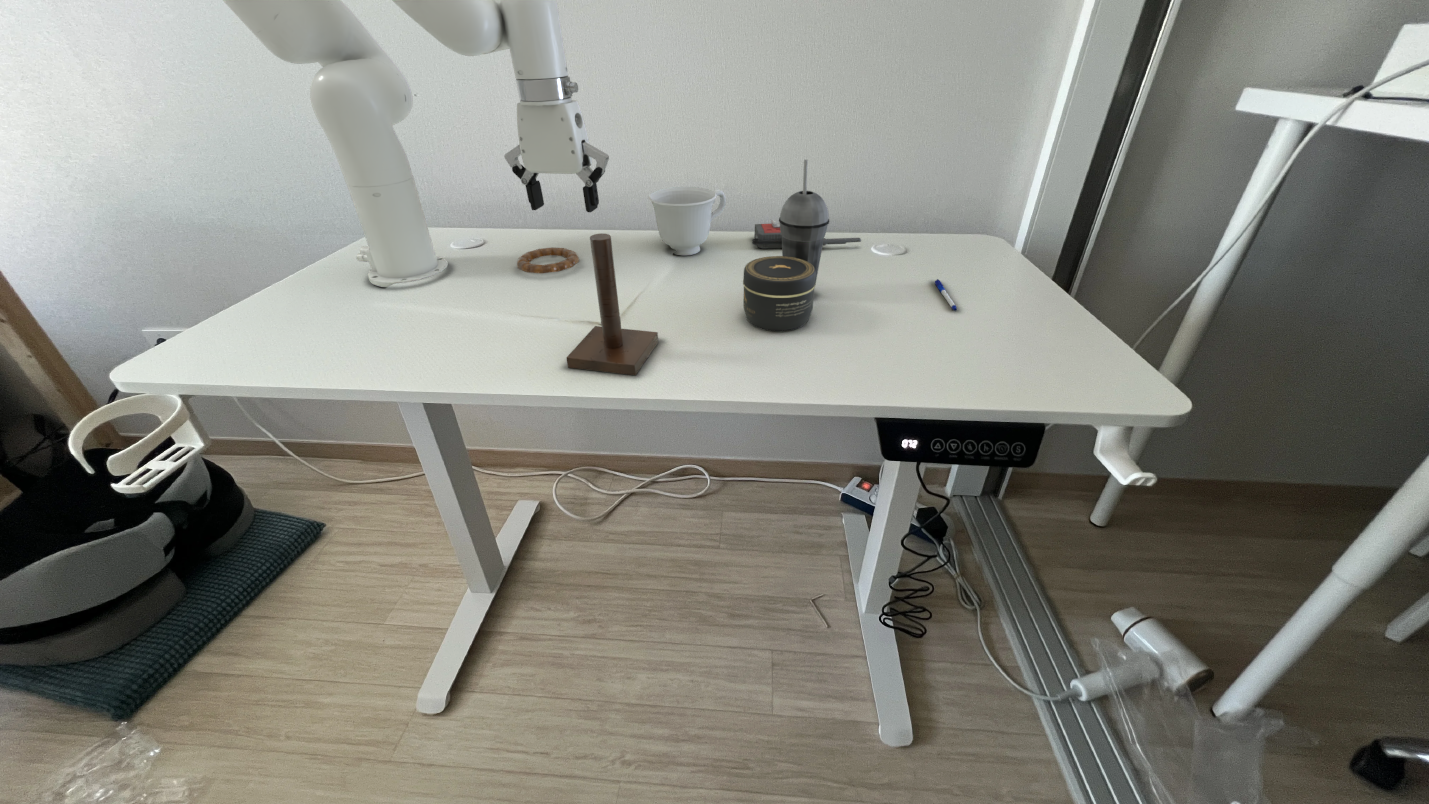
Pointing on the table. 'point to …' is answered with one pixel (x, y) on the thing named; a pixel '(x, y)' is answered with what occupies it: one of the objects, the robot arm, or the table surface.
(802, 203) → the beverage cup
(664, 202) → the teacup
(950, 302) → the blue marker pen
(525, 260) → the ring
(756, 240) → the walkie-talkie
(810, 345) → the table surface
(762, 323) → the jar
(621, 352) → the post
